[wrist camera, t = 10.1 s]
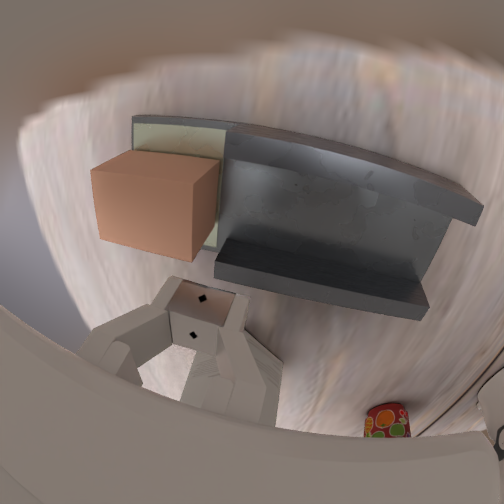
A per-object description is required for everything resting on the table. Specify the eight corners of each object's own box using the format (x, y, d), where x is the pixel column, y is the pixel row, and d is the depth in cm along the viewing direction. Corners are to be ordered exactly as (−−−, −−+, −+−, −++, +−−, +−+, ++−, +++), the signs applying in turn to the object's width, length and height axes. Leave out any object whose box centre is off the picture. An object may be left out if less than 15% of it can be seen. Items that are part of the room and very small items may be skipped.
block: (220, 160, 17) (193, 183, 13) (214, 226, 20) (191, 262, 16) (129, 150, 18) (90, 170, 14) (133, 210, 21) (100, 239, 17)
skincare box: (201, 336, 29) (152, 457, 17) (242, 320, 27) (196, 465, 14) (248, 374, 32) (219, 484, 20) (289, 364, 29) (266, 489, 17)
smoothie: (408, 392, 30) (411, 525, 13) (413, 411, 33) (415, 522, 17) (353, 407, 33) (343, 533, 17) (366, 423, 37) (359, 530, 20)
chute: (460, 185, 15) (484, 206, 12) (410, 290, 21) (420, 321, 18) (136, 115, 17) (106, 124, 14) (140, 230, 23) (118, 252, 20)
